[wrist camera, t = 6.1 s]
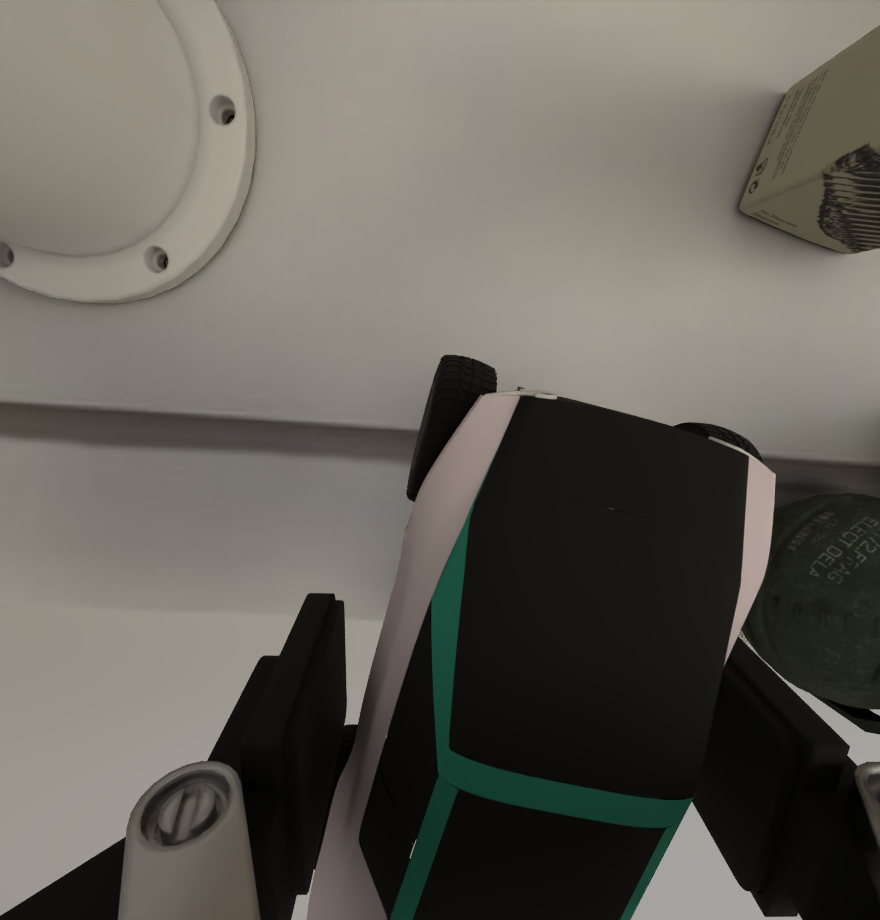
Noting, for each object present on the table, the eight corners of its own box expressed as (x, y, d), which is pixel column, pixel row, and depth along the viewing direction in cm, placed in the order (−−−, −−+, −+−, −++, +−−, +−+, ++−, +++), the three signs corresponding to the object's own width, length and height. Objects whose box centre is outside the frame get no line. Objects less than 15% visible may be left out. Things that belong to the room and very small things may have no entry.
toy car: (323, 791, 13) (253, 1102, 8) (440, 347, 10) (454, 366, 5) (532, 830, 13) (598, 1145, 8) (702, 419, 10) (973, 507, 5)
